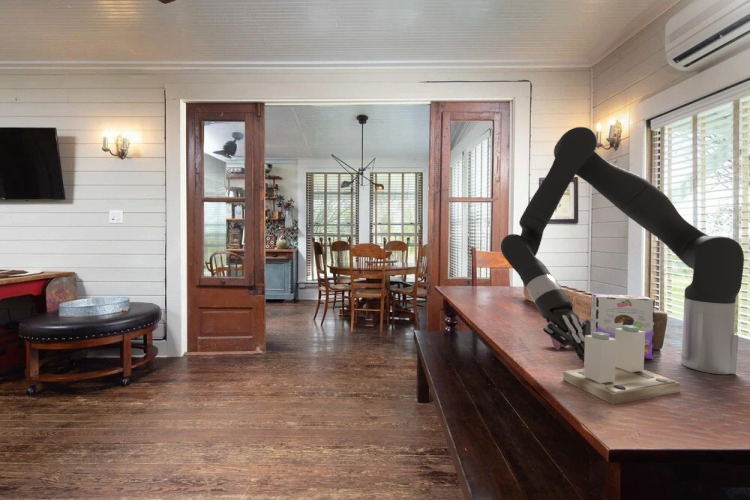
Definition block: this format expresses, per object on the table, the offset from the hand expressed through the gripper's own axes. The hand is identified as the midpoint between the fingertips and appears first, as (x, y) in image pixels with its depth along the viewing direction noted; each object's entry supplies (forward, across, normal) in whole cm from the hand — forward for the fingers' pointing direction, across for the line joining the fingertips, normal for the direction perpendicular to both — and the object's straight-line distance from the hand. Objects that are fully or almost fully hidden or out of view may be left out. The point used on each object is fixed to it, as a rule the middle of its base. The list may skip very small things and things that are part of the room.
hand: (589, 360), depth 77 cm
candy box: (-5, +26, +13) cm, 30 cm away
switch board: (+6, +6, +2) cm, 8 cm away
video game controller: (-11, +16, +19) cm, 27 cm away
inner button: (+2, +12, +2) cm, 12 cm away
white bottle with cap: (+4, 0, 0) cm, 4 cm away
